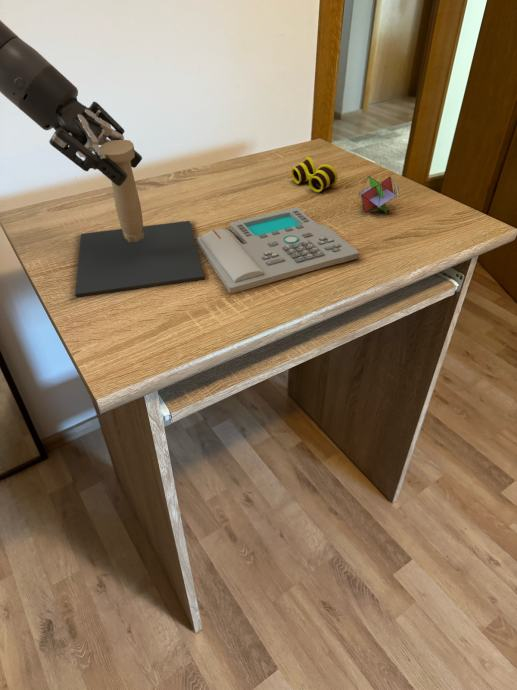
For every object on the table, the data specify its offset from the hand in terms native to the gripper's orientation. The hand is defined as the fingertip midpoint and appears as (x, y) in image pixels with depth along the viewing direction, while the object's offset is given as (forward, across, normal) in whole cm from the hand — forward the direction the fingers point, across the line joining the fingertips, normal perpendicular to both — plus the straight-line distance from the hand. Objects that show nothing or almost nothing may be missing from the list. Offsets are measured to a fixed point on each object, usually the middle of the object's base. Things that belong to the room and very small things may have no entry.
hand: (131, 171), depth 74 cm
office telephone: (+25, -5, +4) cm, 26 cm away
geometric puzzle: (+38, -21, +18) cm, 47 cm away
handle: (+7, 0, -9) cm, 12 cm away
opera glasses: (+30, -33, +8) cm, 45 cm away
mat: (+9, 0, -12) cm, 15 cm away
